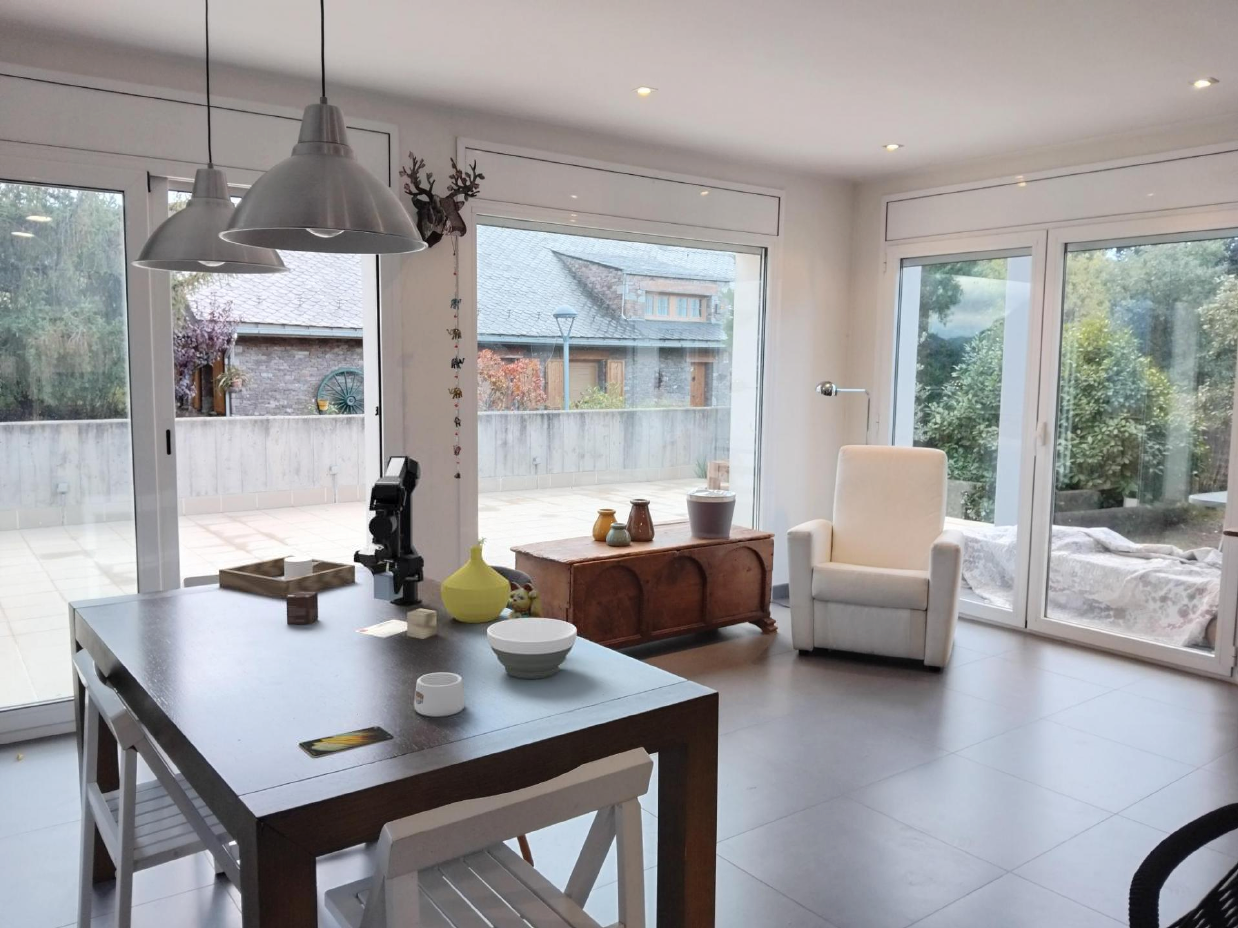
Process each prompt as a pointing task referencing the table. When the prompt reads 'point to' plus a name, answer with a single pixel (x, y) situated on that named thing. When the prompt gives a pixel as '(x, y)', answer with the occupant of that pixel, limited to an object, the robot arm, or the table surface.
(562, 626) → the bowl
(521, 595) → the decorative figurine
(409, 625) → the block
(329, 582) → the wooden tray
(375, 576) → the cube
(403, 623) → the letter
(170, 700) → the table surface
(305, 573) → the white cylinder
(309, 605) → the box
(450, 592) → the vase
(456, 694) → the mug
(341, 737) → the smartphone
